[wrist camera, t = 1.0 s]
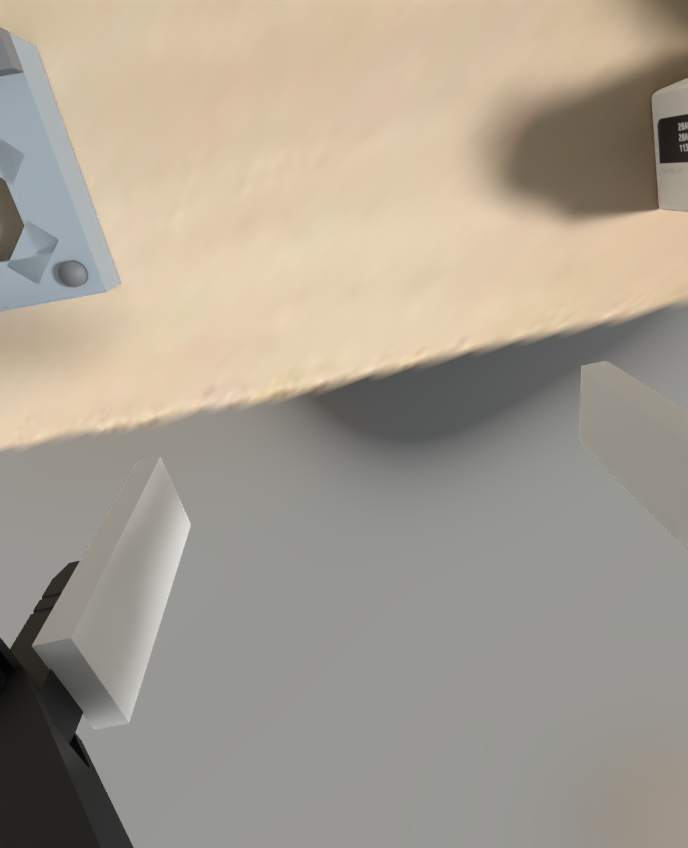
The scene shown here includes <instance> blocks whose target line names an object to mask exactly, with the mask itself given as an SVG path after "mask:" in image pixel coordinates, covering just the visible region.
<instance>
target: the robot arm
mask: <svg viewBox="0 0 688 848" xmlns="http://www.w3.org/2000/svg"><path fill="white" fill-rule="evenodd" d="M579 444H580V445H581V446H582V447H583V448H584V449H585V450H586V451H587V452H588V453H590V455H591V456H592V457H593V458H594V459H596V460H597V462H599V463H600V464H601V465H602V466H603V467H604V468H605V469H606V470H607V471H608V472H609V473H610V474H611V475H612V476H613V477H614V478H615V479H616V480H617V481H618V482H619V483H620V484H621V485H622V486H623V487H624V488H625V489H626V490H627V491H628V492H629V493H630V494H631V495H632V496H633V497H634V498H635V499H636V500H637V501H638V502H639V503H640V504H641V505H642V506H643V507H644V508H645V509H646V510H648V512H649V513H650V514H651V515H653V516H654V517H655V518H656V519H657V520H658V521H659V522H660V523H661V524H662V525H663V526H664V527H665V528H666V529H667V530H668V531H669V532H670V533H671V534H672V535H673V536H674V537H675V538H676V539H677V540H678V541H679V542H680V543H681V544H682V545H683V546H684V547H685V548H686V549H687V550H688V411H686V410H685V409H683V408H681V407H680V406H678V405H677V404H675V403H674V402H672V401H670V400H669V399H667V398H665V397H664V396H662V395H661V394H659V393H657V392H656V391H654V390H653V389H651V388H649V387H648V386H646V385H645V384H643V383H641V382H640V381H638V380H637V379H635V378H633V377H632V376H630V375H628V374H627V373H625V372H624V371H622V370H621V369H619V368H617V367H616V366H614V365H613V364H611V363H609V362H608V361H603V362H598V363H593V364H589V365H584V366H581V392H580V424H579ZM190 526H191V524H190V522H189V519H188V517H187V515H186V513H185V510H184V508H183V506H182V504H181V502H180V499H179V497H178V495H177V492H176V490H175V488H174V486H173V483H172V481H171V479H170V477H169V474H168V472H167V470H166V468H165V465H164V463H163V461H162V458H161V456H159V457H154V458H150V459H145V460H140V461H136V463H135V465H134V466H133V468H132V470H131V472H130V473H129V475H128V477H127V479H126V480H125V482H124V484H123V486H122V488H121V489H120V491H119V493H118V495H117V496H116V498H115V500H114V502H113V504H112V505H111V507H110V509H109V511H108V513H107V514H106V516H105V518H104V519H103V521H102V523H101V525H100V526H99V528H98V530H97V532H96V534H95V535H94V537H93V539H92V540H91V542H90V544H89V546H88V548H87V549H86V551H85V553H84V555H83V556H82V558H81V560H80V561H77V562H72V563H69V564H68V565H67V566H66V567H65V568H64V569H63V570H62V571H61V572H60V573H59V574H58V575H57V576H56V577H55V578H53V579H52V581H51V583H50V584H49V586H48V588H47V589H46V591H45V592H44V594H43V596H42V600H40V601H39V602H38V604H37V606H36V607H35V609H34V614H31V615H30V617H29V619H28V620H27V622H26V624H25V625H24V627H23V629H22V630H21V632H20V633H19V635H18V637H17V638H16V640H15V642H14V643H13V645H12V647H11V649H9V648H8V647H7V645H6V644H5V643H4V642H3V640H2V639H1V638H0V848H133V846H132V844H131V841H130V839H129V837H128V835H127V833H126V831H125V829H124V827H123V825H122V823H121V821H120V819H119V817H118V815H117V813H116V811H115V809H114V807H113V804H112V802H111V800H110V798H109V796H108V794H107V792H106V790H105V788H104V786H103V784H102V782H101V780H100V778H99V776H98V774H97V772H96V769H95V767H94V765H93V763H92V761H91V759H90V757H89V755H88V753H87V751H86V749H85V747H84V745H83V743H82V741H81V740H80V738H79V737H78V736H77V734H76V733H75V731H76V729H77V726H78V724H79V722H80V719H81V716H82V714H83V715H84V716H85V718H86V719H87V720H88V722H89V723H90V724H91V726H92V727H93V728H94V730H97V729H102V728H106V727H112V726H117V725H122V724H126V723H129V722H130V719H131V715H132V712H133V709H134V706H135V702H136V699H137V696H138V693H139V690H140V687H141V683H142V680H143V677H144V674H145V670H146V667H147V664H148V660H149V658H150V654H151V651H152V648H153V645H154V641H155V638H156V635H157V632H158V629H159V626H160V622H161V619H162V616H163V613H164V610H165V606H166V603H167V600H168V597H169V593H170V590H171V587H172V584H173V581H174V577H175V574H176V571H177V567H178V564H179V561H180V558H181V555H182V551H183V549H184V545H185V542H186V539H187V536H188V532H189V529H190Z"/></svg>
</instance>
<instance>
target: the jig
mask: <svg viewBox="0 0 688 848" xmlns="http://www.w3.org/2000/svg"><path fill="white" fill-rule="evenodd" d="M0 178H2V179H4V180H5V181H6V184H7V186H8V188H9V191H10V193H11V195H12V198H13V200H14V202H15V205H16V207H17V210H18V212H19V214H20V217H21V219H22V221H23V224H24V228H23V231H22V233H21V235H20V238H19V240H18V242H17V244H16V247H15V249H14V251H13V254H12V256H11V258H10V259H5V260H0V311H3V310H8V309H14V308H20V307H25V306H31V305H36V304H42V303H48V302H53V301H59V300H65V299H70V298H76V297H81V296H87V295H93V294H98V293H104V292H107V291H109V290H111V289H113V288H114V287H116V286H118V285H120V284H121V282H120V279H119V276H118V273H117V271H116V268H115V265H114V262H113V259H112V257H111V254H110V251H109V248H108V245H107V243H106V240H105V237H104V234H103V231H102V229H101V226H100V223H99V220H98V218H97V215H96V212H95V209H94V206H93V204H92V201H91V198H90V195H89V192H88V190H87V187H86V184H85V181H84V178H83V176H82V173H81V170H80V167H79V165H78V162H77V159H76V156H75V153H74V151H73V148H72V145H71V142H70V139H69V137H68V134H67V131H66V128H65V125H64V123H63V120H62V117H61V114H60V111H59V109H58V106H57V103H56V100H55V98H54V95H53V92H52V89H51V86H50V84H49V81H48V78H47V75H46V72H45V70H44V67H43V64H42V61H41V58H40V56H39V53H38V50H37V47H36V45H34V44H32V43H30V42H28V41H26V40H24V39H22V38H20V37H18V36H16V35H14V34H12V33H10V32H8V31H6V30H4V29H2V28H0Z"/></svg>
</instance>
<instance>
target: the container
mask: <svg viewBox="0 0 688 848" xmlns="http://www.w3.org/2000/svg"><path fill="white" fill-rule="evenodd" d="M652 114H653V129H654V143H655V158H656V173H657V187H658V202H659V208H661V209H662V210H672V211H684V212H688V78H686V79H684V80H681V81H679V82H676V83H674V84H672V85H669V86H667V87H664V88H662V89H660V90H658V91H656V92H655V93H654V94H653V95H652Z"/></svg>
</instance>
